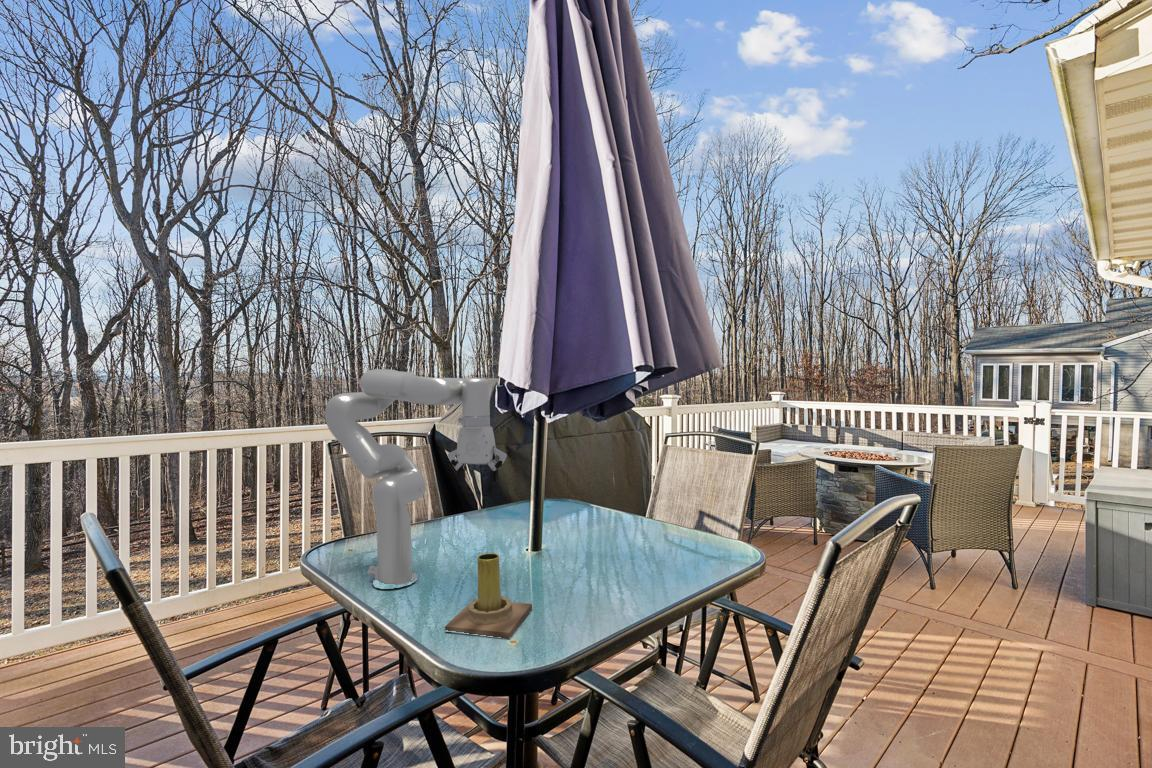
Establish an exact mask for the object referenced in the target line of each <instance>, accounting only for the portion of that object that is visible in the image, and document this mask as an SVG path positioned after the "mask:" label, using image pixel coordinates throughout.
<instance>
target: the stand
mask: <svg viewBox="0 0 1152 768" xmlns="http://www.w3.org/2000/svg"><path fill="white" fill-rule="evenodd" d="M501 608H502V609H499V610H497V611H490V612H485V611H478V598H473V600H471V601H470V602H469V603H468V604H467V605H466V606H465V607H464V608H463V609H462V610H461V611H460V612H458V614H456V615H455V616H454V617H453V618H452V619H451V620H450V621H449V622H448V623H447V624H446V625H445V626H444V631H445V630H448V631H456V632H464V633H469V634H478V635H486V636H493V637H501V638H508V639H507V640H510V639H511V638H512V636H513V635H514V634H515V633H516V631H517V630H518V629H519V627H520V626H521V625H522V624H521V623H523V622H524V621H525V620H526V619H527V617H528V616H529V615H530V613H531V612H532V611H531V610H533V603H525V602H514V601H513V602H512V600H511V599H510V598H508V597H505V596H502V595H501ZM530 611H531V612H530ZM529 612H530V613H529ZM527 615H528V616H527ZM526 616H527V617H526ZM524 619H525V620H524ZM523 620H524V621H523ZM520 624H521V625H520ZM517 628H518V629H517ZM514 632H515V633H514ZM513 633H514V634H513ZM512 634H513V635H512ZM511 635H512V636H511ZM510 637H511V638H510ZM509 638H510V639H509Z"/></svg>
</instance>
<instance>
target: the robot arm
mask: <svg viewBox="0 0 1152 768" xmlns="http://www.w3.org/2000/svg"><path fill="white" fill-rule="evenodd" d="M359 388H360V389H361V391H359V392H343V393H339V394H336V395H333V397H331V398H329V400H328V401H327V403H326V407H325V408H324V409H325V411H324V418H325V424H326V426H327V428H328V429H329V431H330V433H331V434H332V436H333V437H334V438H335V439H336V440H337V441H338V443H339V444H340V445H341V447H342V448H343V449H344V451H345V452H346V453H347V455H348V457H349V458H350V459H351V461H352V462H353V464H354V465H355V467H356V468H357V469H358V470H359V471H358V472H360V473H361V475H362V476H364V477H365V478H366V479H372V480H373V479H377V478H380V479H379V480H378V481H377V482H376V483H375V484H374V486H373V488H372V494H371V495H372V496H371V497H372V503H373V506H374V511H375V520H376V521H375V522H376V544H377V545H376V547H377V548H376V549H377V553H376V554H377V566H376V565H370V566H369V567H368V570H367V572H366V574H367V575H369V576H374V579H375V580H378V581H379V582H381V583H384V584H395V585H403V584H407V583H409V582H412V581H414V580H415V579H416V578H417V579H418V574H417V573H416V572H414V571H412V570H413V565H412V564H413V562H412V558H413V557H412V527H411V526H412V525H411V524H412V522H411V521H412V520H411V517H410V513H409V510H408V508H407V506H406V505H407V504H410V503H412V502H415V501H418V500H419V499H421V498H422V497H423V496H424V494H425V492H426V491H427V483H426V479H425V477H424V475H423V473H422V472H421V471H420V469H419V468H418V467H417V465H416V464H415V462H414V460H413V459H412V458H411V456H410V455H409V454H408V453H407V452H406V450H405V449H404V448H403V447H402V446H400V445H398V444H395V443H385V444H380V443H378V442H377V440H376V439H375V438H374V437H373V435H372V433H371V432H370V431H369V430H368V429H367V428H365V426H363V425H361V424H360V423H359V422H358V421H361V420H369V419H373V418H376V417H379V415H380V414H382V413H384V411H385V410H386V409H387V408H388V407H390V406H391V405H392V403H394V402H396V401H400V402H401V401H403V402H408V403H412V404H413V403H414V404H418V405H419V404H420V405H429V406H448V405H449V406H450V405H460V404H461V406H462V407H461V408H462V409H461V412H462V415H461V418H460V417H459V418H458V420H457V421H458V423H459V424H461V426H462V427H459V430H458V437H457V442H456V444H457V445H456V448H455V449H454V450H452V451H450V452H448V453H447V458H448V459H449V461H450V463H451V465H452V466H453V468H454V469H455V470H456V480H457V485H463V484H465V483H466V468H465V466H466V465H488V467H489V468H490V469H491V470H490V472H489V483H490V486H494V485H497V483H498V482H499V469H500V468H501V467H502V466H503V465H504V463H505V461H506V459H507V457H508V455H507V453H505V452H504V451H502V450H501V449H498V448H497V447H496V440H495V434H494V428H493V426H491V416H490V415H491V414H490V413H491V411H490V410H491V409H490V407H491V406H490V405H491V402H490V382H489V380H488V378H484V377H473V378H472V377H469V378H460V377H430V376H429V377H427V376H419V375H418V376H417V375H416V374H415V373H413V372H411V371H400V370H396V369H386V368H385V369H383V368H381V369H380V368H377V369H370V370H367V371H366V372H365V373H362V375H361V376H360V380H359ZM497 456H498V457H499V460H498V461H496V458H497ZM381 477H382V478H381ZM412 572H413V574H412ZM411 579H413V580H411Z"/></svg>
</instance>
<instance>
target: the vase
mask: <svg viewBox="0 0 1152 768" xmlns="http://www.w3.org/2000/svg"><path fill="white" fill-rule="evenodd" d="M500 572H501V571H500V555H499V554H498V553H494V552H488V553H487V552H486V553H482V554H479V555H478V556H477V599H478V611H485V612H490V611H497V610H499V609H502V608H501V596H502V595H501V594H502V593H501V579H500V578H501V577H500V576H501V575H500V574H501V573H500Z"/></svg>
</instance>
